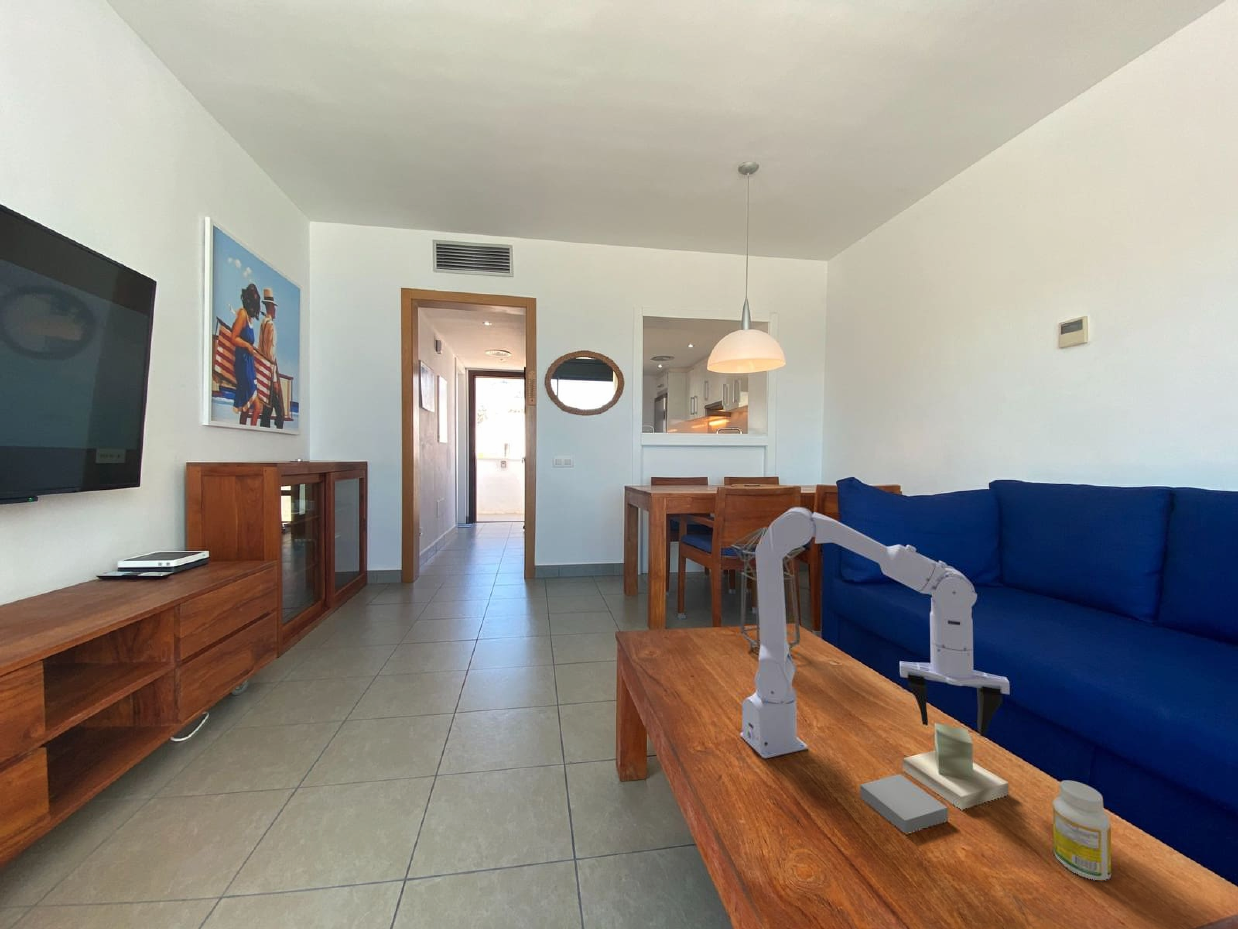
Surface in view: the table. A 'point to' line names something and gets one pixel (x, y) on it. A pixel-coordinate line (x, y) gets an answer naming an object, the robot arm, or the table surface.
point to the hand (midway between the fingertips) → (952, 727)
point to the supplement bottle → (1082, 831)
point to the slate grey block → (903, 803)
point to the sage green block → (953, 752)
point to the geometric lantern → (736, 545)
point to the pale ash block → (956, 782)
